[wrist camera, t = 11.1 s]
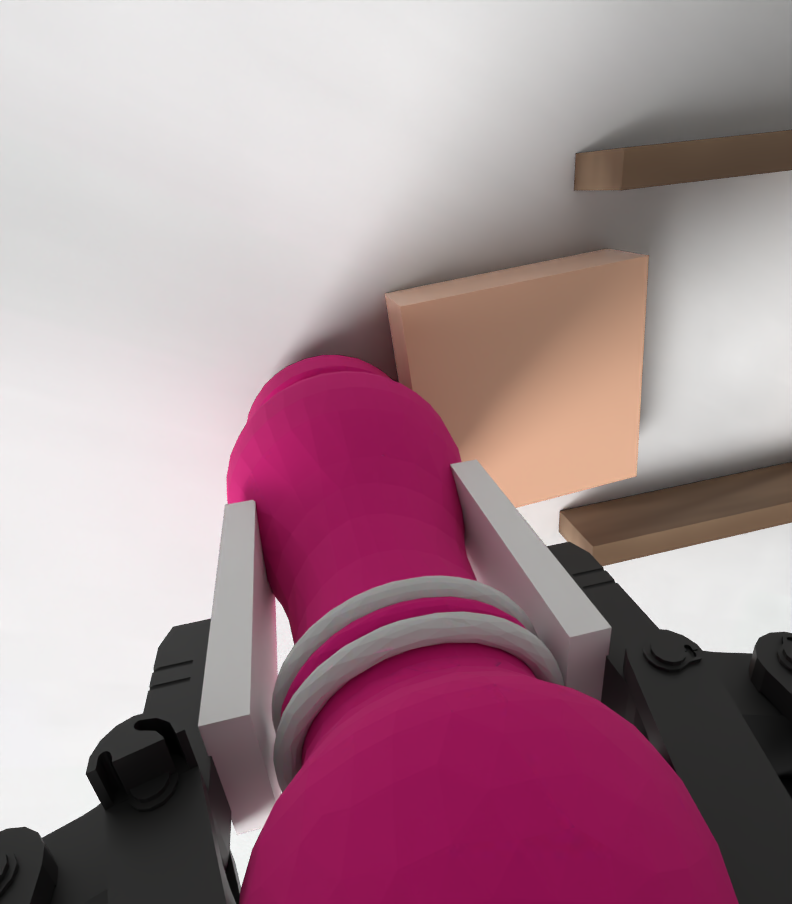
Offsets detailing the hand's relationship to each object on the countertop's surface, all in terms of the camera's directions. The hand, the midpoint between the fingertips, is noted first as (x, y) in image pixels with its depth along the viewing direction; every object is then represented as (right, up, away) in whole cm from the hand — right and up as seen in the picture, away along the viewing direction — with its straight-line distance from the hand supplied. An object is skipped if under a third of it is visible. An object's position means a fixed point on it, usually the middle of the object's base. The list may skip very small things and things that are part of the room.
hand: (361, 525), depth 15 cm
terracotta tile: (+5, +5, +8) cm, 11 cm away
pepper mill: (-2, +3, +6) cm, 7 cm away
